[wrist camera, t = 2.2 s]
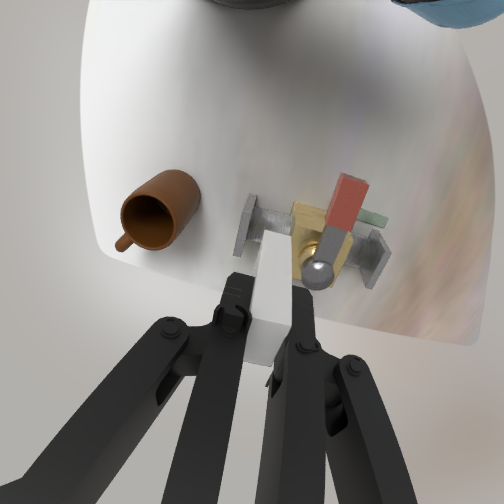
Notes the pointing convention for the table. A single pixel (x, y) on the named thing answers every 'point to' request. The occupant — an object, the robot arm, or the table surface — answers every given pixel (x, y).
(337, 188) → the lever
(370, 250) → the valve pipe
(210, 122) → the table surface
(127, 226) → the mug
